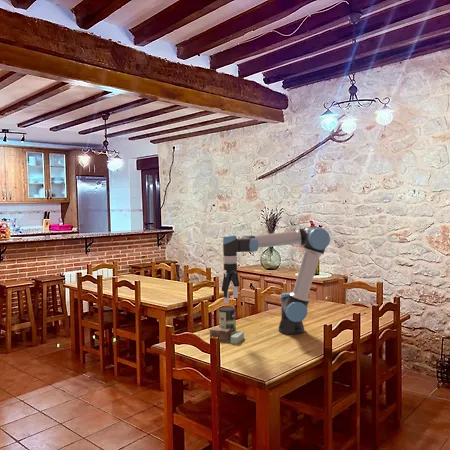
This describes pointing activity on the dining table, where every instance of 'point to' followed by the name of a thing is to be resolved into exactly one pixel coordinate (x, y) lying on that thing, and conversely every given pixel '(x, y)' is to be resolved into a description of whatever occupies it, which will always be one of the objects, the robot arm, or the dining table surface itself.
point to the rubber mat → (226, 340)
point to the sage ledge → (237, 337)
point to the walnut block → (220, 333)
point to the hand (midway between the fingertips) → (231, 300)
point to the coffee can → (227, 318)
